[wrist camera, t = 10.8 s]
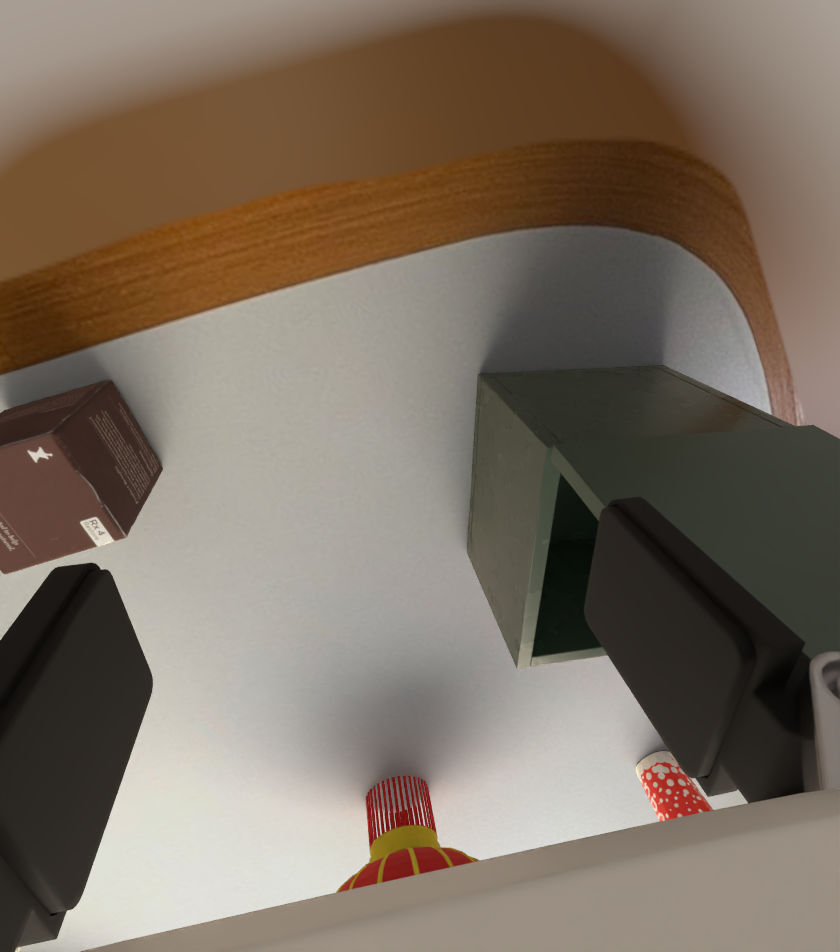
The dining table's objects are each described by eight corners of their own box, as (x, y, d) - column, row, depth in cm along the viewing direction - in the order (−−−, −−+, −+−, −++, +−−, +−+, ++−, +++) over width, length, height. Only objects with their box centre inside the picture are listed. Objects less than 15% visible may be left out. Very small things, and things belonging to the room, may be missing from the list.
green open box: (623, 536, 39) (718, 639, 30) (466, 552, 37) (516, 669, 28) (664, 364, 33) (801, 428, 24) (477, 373, 31) (547, 447, 22)
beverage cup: (637, 749, 54) (729, 907, 42) (687, 743, 55) (791, 894, 43) (622, 784, 57) (704, 940, 45) (670, 777, 58) (762, 927, 46)
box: (3, 406, 27) (-94, 469, 21) (113, 376, 27) (52, 428, 21) (68, 499, 30) (1, 578, 24) (167, 470, 30) (127, 541, 24)
